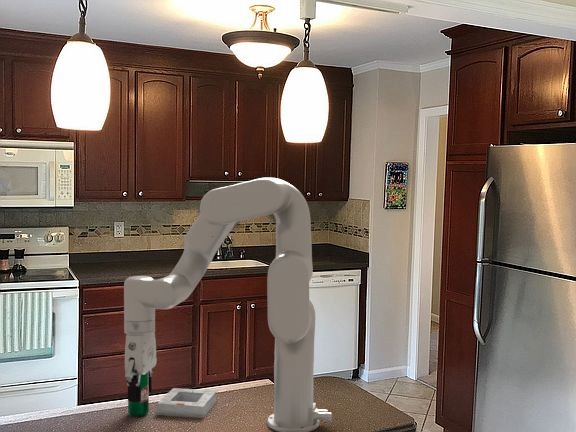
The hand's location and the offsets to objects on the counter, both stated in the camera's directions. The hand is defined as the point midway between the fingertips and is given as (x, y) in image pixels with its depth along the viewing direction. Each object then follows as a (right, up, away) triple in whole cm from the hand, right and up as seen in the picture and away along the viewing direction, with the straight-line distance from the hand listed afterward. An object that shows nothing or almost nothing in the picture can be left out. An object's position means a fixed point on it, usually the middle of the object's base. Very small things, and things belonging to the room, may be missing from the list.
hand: (140, 396), depth 157 cm
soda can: (0, -5, 0) cm, 5 cm away
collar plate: (+11, -5, +5) cm, 13 cm away
